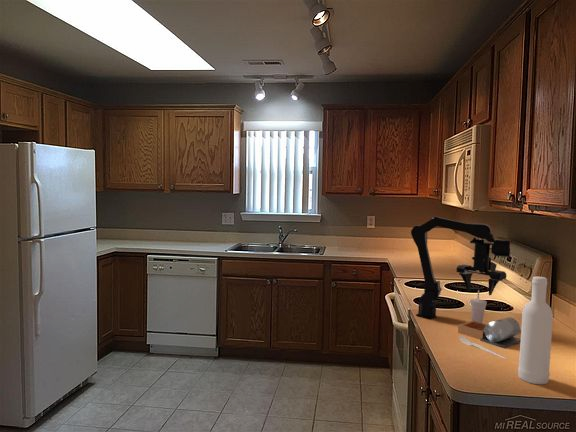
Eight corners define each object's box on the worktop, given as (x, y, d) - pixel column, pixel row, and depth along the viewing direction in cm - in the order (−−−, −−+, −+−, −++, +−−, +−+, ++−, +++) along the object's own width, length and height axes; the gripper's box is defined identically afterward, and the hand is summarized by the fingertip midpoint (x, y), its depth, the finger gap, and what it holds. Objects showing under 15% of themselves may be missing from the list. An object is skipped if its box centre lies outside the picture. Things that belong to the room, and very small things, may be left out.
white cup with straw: (482, 322, 189) (484, 288, 188) (487, 326, 183) (489, 292, 182) (466, 321, 190) (468, 288, 189) (471, 325, 183) (473, 291, 182)
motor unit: (455, 333, 173) (456, 313, 173) (474, 327, 181) (475, 308, 181) (504, 348, 158) (506, 326, 158) (522, 341, 166) (524, 320, 166)
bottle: (544, 375, 135) (551, 276, 134) (552, 386, 128) (559, 281, 126) (515, 371, 138) (521, 273, 136) (521, 382, 130) (528, 278, 128)
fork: (503, 362, 147) (504, 356, 147) (456, 341, 165) (456, 336, 165) (510, 360, 149) (510, 355, 148) (463, 339, 167) (463, 335, 166)
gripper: (514, 256, 182) (511, 295, 183) (471, 250, 196) (469, 286, 198) (500, 258, 175) (497, 298, 176) (456, 252, 190) (454, 289, 191)
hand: (479, 292), depth 185 cm, fingers open, 9 cm apart
